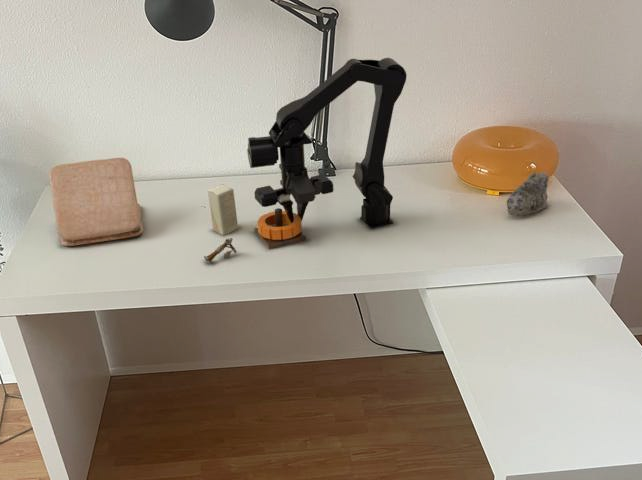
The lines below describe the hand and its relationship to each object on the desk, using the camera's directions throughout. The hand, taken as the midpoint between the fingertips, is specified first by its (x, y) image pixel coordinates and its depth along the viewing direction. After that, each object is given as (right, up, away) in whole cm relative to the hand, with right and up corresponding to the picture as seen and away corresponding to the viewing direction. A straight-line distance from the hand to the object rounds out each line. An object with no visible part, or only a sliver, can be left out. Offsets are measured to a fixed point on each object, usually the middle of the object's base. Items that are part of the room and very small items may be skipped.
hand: (296, 222), depth 189 cm
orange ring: (-4, -2, -1) cm, 5 cm away
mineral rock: (+59, +5, +8) cm, 60 cm away
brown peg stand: (-4, -3, 0) cm, 5 cm away
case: (-51, 0, +8) cm, 51 cm away
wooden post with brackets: (-18, -10, -8) cm, 22 cm away
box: (-18, -1, +4) cm, 19 cm away
